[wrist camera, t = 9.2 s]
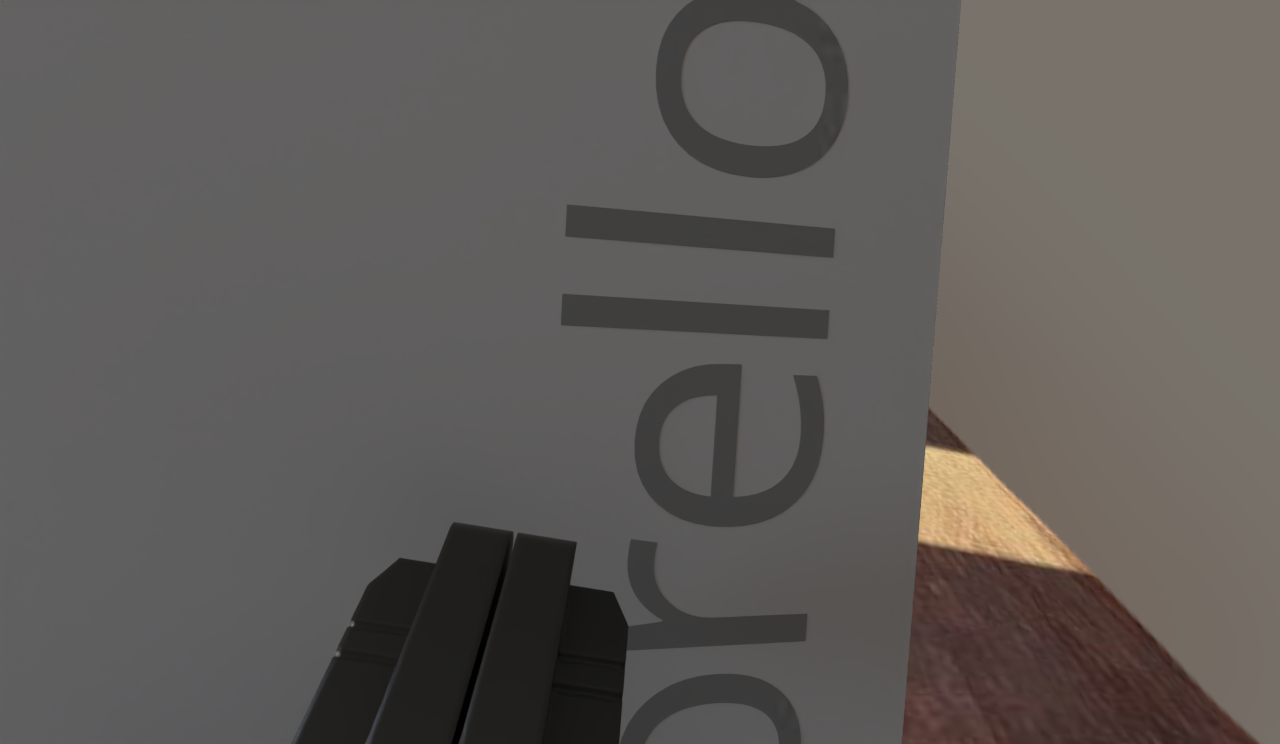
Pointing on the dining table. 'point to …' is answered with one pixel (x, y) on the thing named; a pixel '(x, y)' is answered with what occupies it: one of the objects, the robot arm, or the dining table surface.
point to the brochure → (464, 343)
